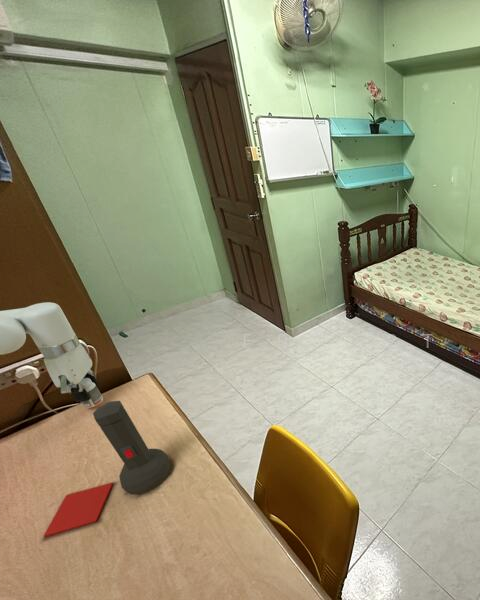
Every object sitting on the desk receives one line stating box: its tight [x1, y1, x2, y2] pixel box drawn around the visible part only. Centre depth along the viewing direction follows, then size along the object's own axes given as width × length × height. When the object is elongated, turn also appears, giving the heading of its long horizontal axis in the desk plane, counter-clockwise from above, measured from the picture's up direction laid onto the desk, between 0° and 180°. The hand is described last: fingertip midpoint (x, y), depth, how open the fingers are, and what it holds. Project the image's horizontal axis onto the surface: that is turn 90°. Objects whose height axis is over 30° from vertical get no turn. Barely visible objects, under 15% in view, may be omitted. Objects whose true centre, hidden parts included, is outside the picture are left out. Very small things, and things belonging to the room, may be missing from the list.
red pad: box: [43, 482, 114, 538], centre depth 71 cm, size 9×9×1 cm
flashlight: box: [92, 400, 172, 495], centre depth 72 cm, size 10×25×10 cm
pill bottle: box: [72, 378, 104, 409], centre depth 95 cm, size 5×5×8 cm
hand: (88, 393), depth 95 cm, fingers closed on pill bottle, 4 cm apart
